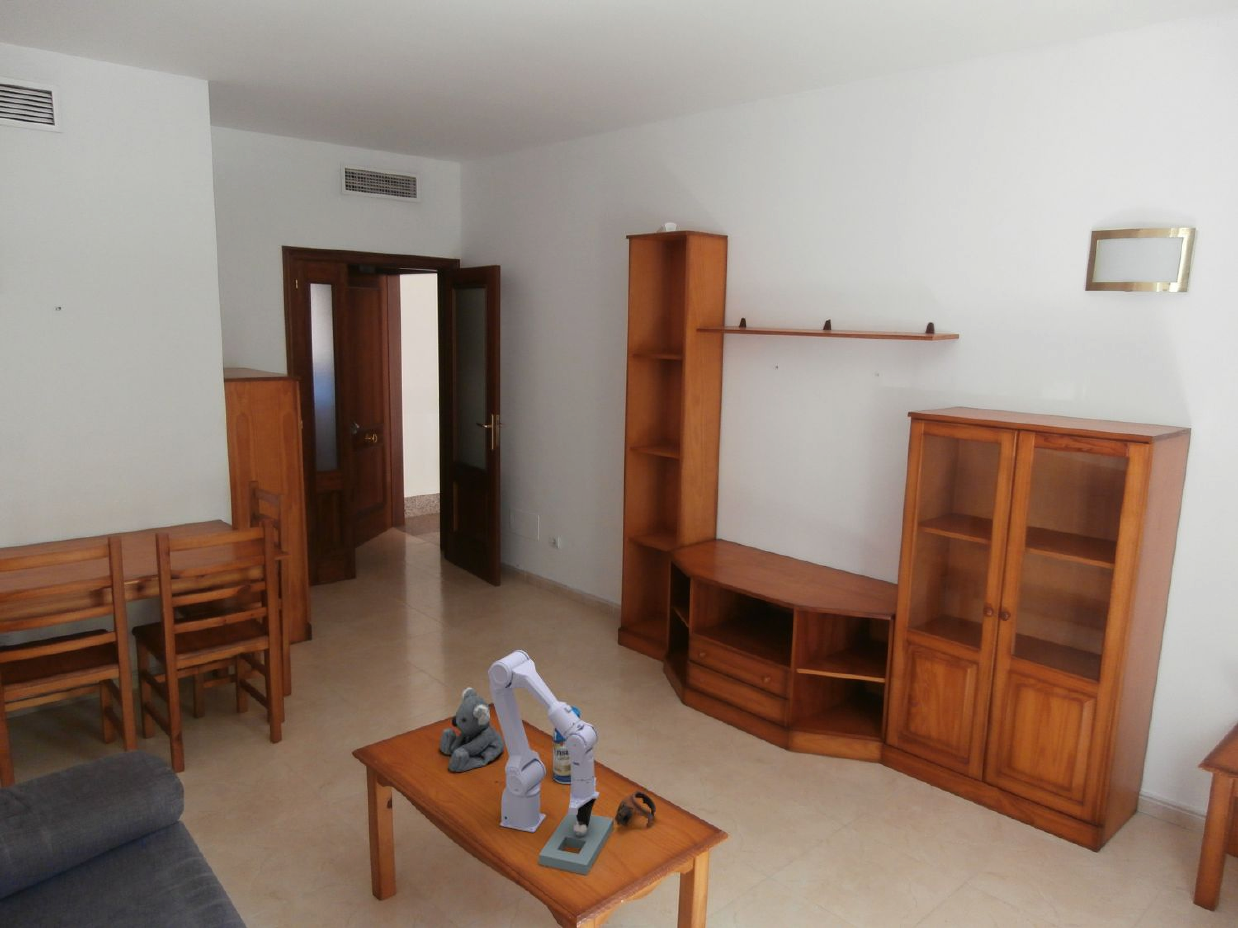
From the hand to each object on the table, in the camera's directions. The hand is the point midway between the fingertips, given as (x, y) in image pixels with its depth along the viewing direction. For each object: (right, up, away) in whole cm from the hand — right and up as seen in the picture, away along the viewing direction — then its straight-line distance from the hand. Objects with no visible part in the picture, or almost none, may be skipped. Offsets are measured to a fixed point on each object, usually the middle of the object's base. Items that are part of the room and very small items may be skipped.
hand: (583, 826), depth 210 cm
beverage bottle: (-6, +1, +31) cm, 31 cm away
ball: (-1, 0, -1) cm, 1 cm away
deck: (-1, -4, -1) cm, 5 cm away
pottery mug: (+12, -3, +9) cm, 16 cm away
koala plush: (-34, +3, +41) cm, 54 cm away
